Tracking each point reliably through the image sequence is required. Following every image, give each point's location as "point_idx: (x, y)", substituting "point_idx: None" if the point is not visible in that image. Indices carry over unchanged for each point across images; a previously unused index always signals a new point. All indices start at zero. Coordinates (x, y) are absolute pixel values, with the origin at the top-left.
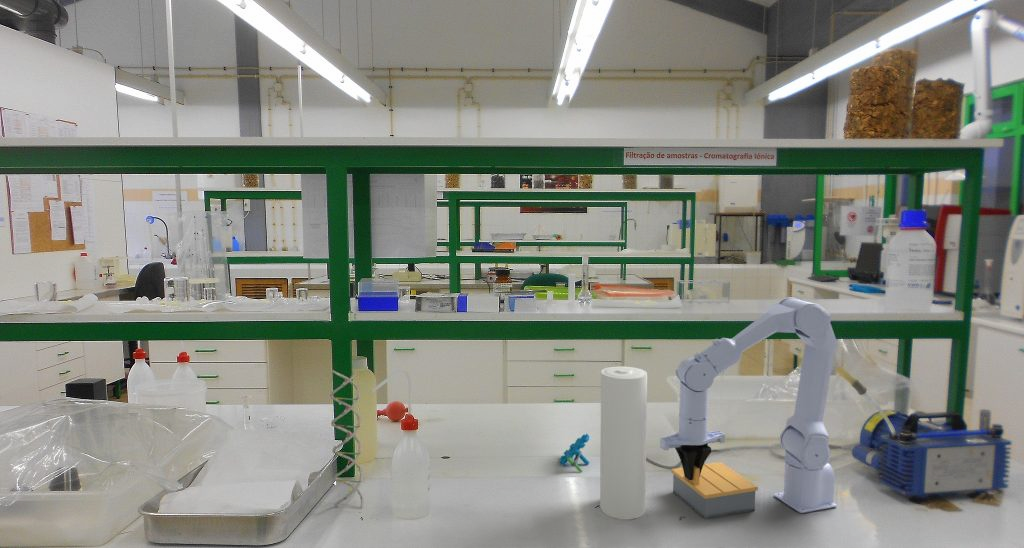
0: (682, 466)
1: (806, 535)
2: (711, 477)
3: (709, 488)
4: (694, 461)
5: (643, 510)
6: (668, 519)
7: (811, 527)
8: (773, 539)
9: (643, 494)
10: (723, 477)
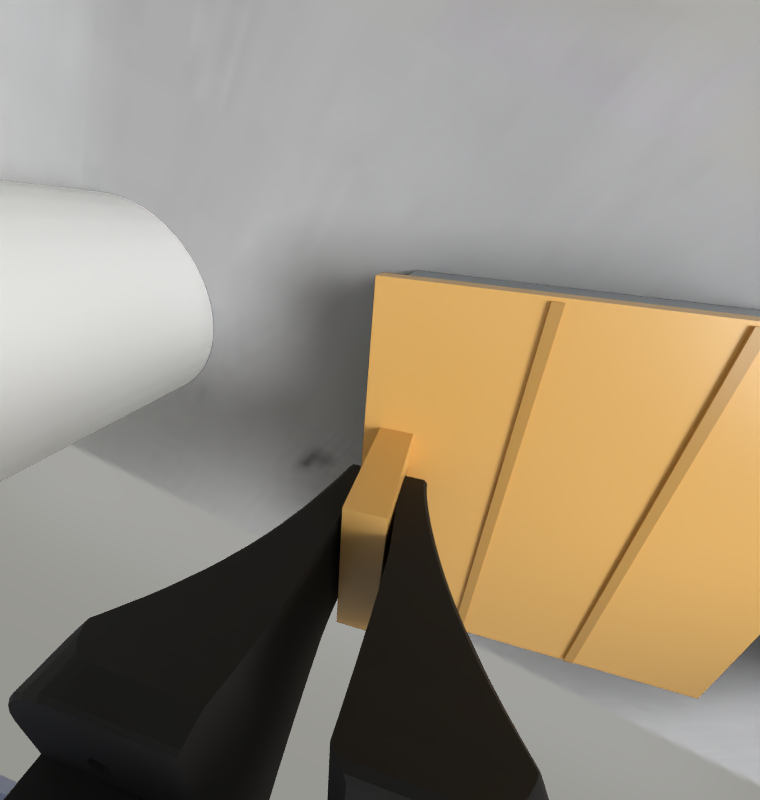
0: (312, 500)
1: (616, 698)
2: (553, 516)
3: None
4: (301, 691)
5: (180, 386)
6: (264, 446)
7: (691, 697)
8: (499, 656)
9: (115, 420)
10: (626, 561)
